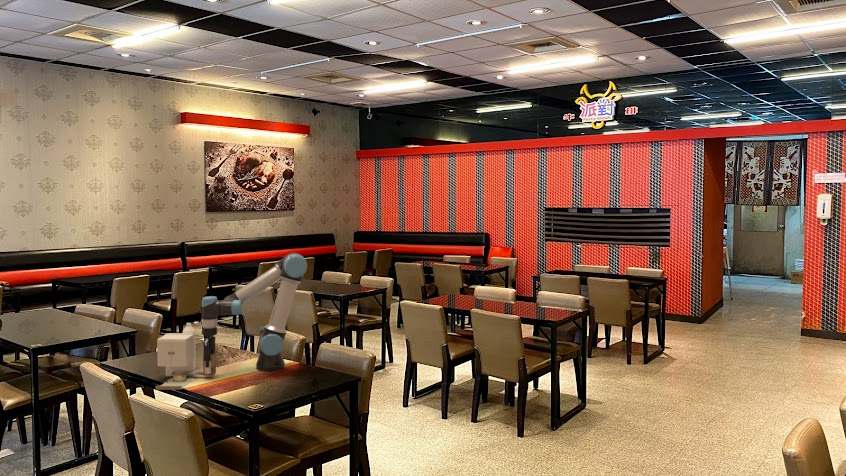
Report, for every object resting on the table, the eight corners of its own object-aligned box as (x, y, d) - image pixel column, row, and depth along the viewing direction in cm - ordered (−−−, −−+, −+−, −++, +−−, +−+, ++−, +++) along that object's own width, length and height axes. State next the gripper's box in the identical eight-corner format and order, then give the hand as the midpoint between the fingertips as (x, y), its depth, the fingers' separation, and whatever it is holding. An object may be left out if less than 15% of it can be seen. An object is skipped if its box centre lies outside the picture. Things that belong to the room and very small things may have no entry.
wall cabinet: (194, 375, 338) (193, 333, 337) (185, 382, 324) (184, 338, 323) (166, 375, 338) (166, 333, 336) (156, 382, 324) (156, 338, 323)
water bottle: (186, 371, 346) (185, 324, 345) (180, 369, 351) (180, 322, 350) (201, 368, 353) (201, 322, 351) (196, 366, 357) (195, 320, 356)
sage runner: (194, 378, 332) (194, 375, 332) (181, 389, 312) (181, 386, 312) (170, 378, 332) (170, 375, 332) (155, 389, 312) (155, 386, 312)
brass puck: (187, 378, 331) (187, 373, 331) (183, 382, 325) (183, 377, 325) (175, 378, 331) (175, 373, 331) (171, 382, 325) (171, 377, 325)
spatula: (215, 373, 337) (215, 354, 336) (213, 375, 332) (213, 356, 331) (174, 372, 336) (174, 353, 335) (171, 375, 331) (171, 355, 330)
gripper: (207, 323, 342) (207, 367, 343) (196, 330, 324) (196, 376, 325) (221, 323, 342) (221, 367, 343) (211, 330, 324) (211, 376, 325)
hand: (209, 371), depth 334 cm, fingers closed on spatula, 5 cm apart
